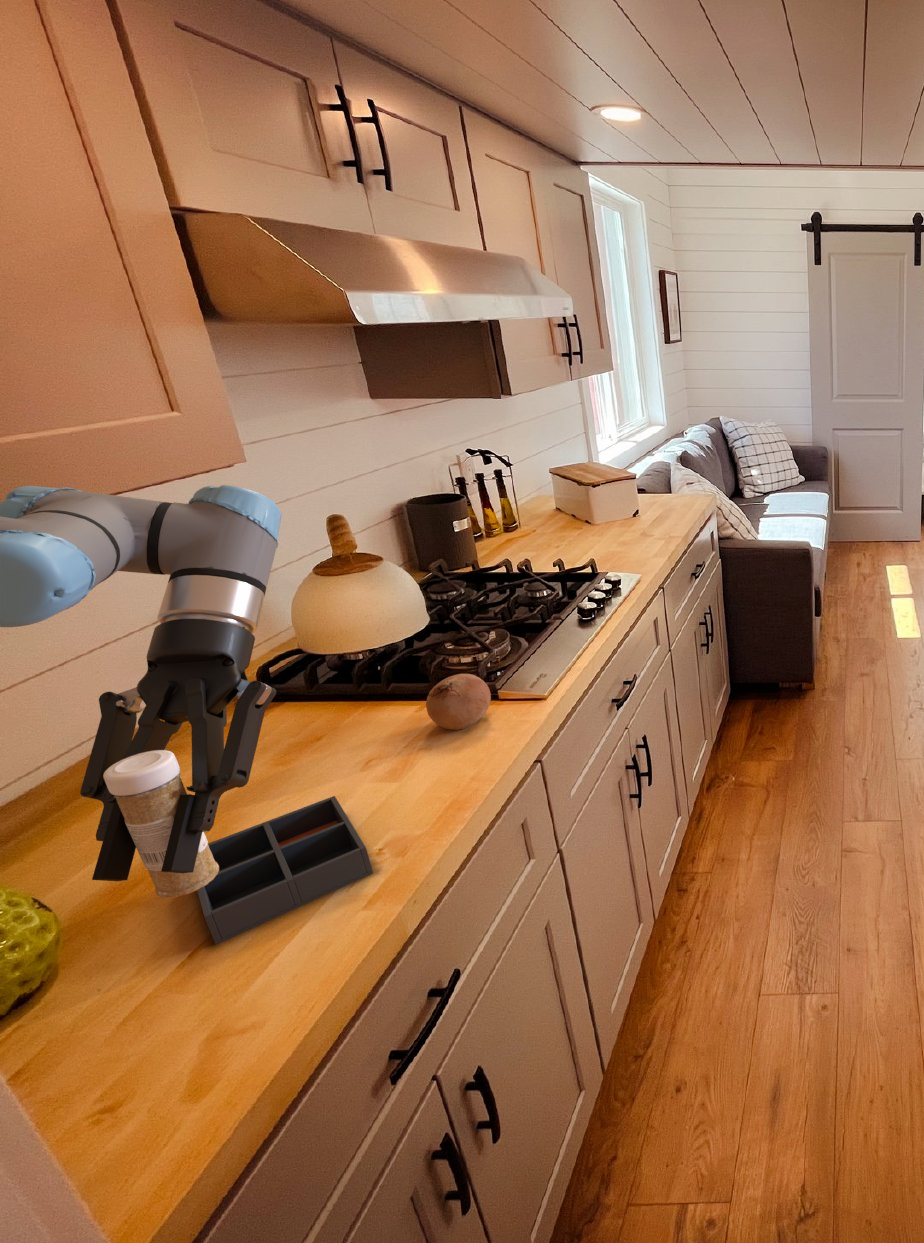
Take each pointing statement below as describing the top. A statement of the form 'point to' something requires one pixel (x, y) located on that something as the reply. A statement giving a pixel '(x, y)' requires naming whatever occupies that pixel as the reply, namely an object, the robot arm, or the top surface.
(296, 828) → the grid
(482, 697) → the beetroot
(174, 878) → the spice jar
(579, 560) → the top surface
